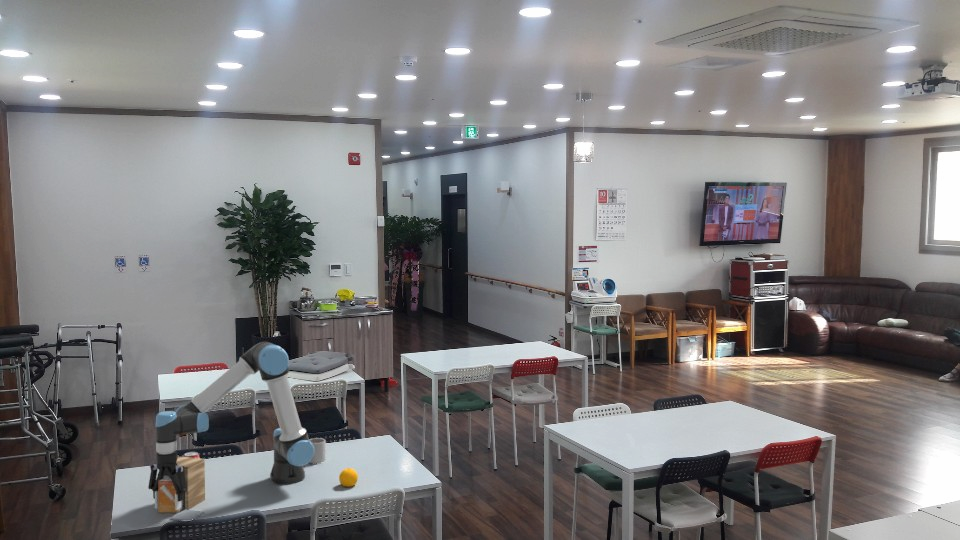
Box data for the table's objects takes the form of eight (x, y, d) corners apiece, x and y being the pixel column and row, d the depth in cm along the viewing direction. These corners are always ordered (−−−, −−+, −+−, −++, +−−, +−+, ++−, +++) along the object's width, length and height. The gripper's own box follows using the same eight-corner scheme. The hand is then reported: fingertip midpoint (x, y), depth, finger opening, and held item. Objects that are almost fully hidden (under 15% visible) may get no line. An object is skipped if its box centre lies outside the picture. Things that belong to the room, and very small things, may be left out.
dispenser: (205, 499, 308) (204, 458, 306) (187, 510, 296) (186, 467, 295) (180, 497, 311) (179, 456, 309) (161, 507, 299) (160, 465, 298)
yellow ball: (351, 481, 331) (350, 464, 330) (361, 485, 325) (361, 468, 325) (335, 485, 325) (335, 468, 325) (346, 490, 319) (345, 472, 319)
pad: (204, 513, 293) (204, 511, 293) (190, 522, 285) (190, 520, 285) (185, 510, 296) (184, 509, 296) (170, 519, 287) (170, 518, 287)
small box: (158, 513, 293) (157, 480, 292) (164, 507, 300) (163, 475, 299) (179, 512, 294) (178, 480, 293) (184, 506, 300) (184, 475, 299)
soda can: (194, 483, 327) (193, 456, 326) (179, 482, 328) (179, 455, 327) (203, 478, 334) (202, 451, 333) (189, 477, 335) (188, 450, 334)
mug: (327, 462, 356) (327, 441, 355) (309, 465, 352) (309, 444, 352) (321, 455, 367) (320, 435, 366) (303, 457, 363) (303, 437, 363)
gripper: (196, 450, 293) (197, 506, 295) (150, 446, 299) (151, 501, 300) (184, 456, 286) (185, 514, 288) (137, 452, 292) (138, 508, 293)
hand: (168, 507), depth 294 cm, fingers closed on small box, 9 cm apart
